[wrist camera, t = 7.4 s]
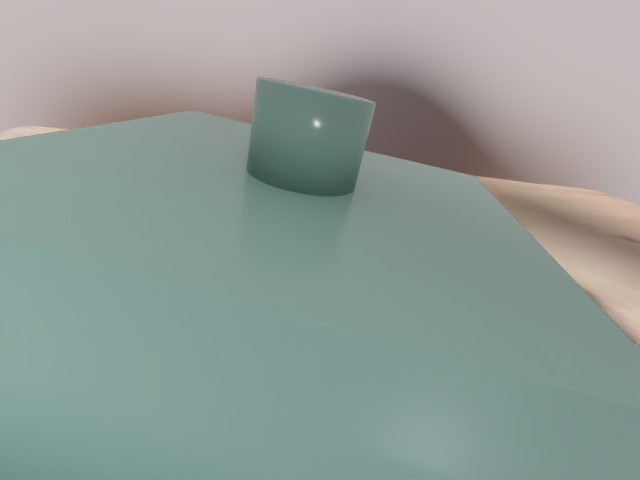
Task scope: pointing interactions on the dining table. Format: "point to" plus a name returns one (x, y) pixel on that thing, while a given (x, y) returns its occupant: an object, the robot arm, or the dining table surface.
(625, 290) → the dining table surface
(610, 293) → the dining table surface
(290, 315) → the teal knobbed box
